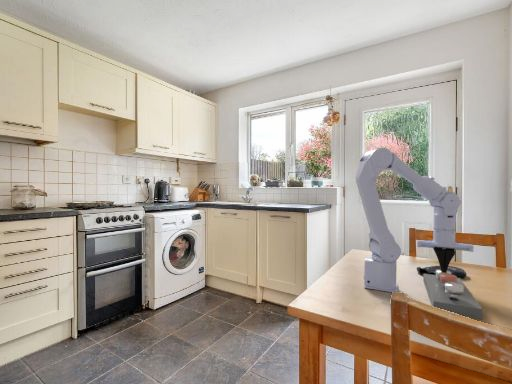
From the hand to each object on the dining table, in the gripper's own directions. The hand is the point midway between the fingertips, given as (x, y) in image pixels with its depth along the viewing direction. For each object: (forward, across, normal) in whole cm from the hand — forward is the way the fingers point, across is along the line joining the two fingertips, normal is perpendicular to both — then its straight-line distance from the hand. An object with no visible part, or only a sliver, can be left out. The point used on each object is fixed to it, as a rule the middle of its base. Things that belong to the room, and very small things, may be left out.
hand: (443, 271), depth 85 cm
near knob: (+3, 0, +16) cm, 16 cm away
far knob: (+4, 0, 0) cm, 4 cm away
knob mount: (+5, 0, +8) cm, 9 cm away
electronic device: (+6, -2, -14) cm, 15 cm away
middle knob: (+3, 0, +8) cm, 8 cm away
